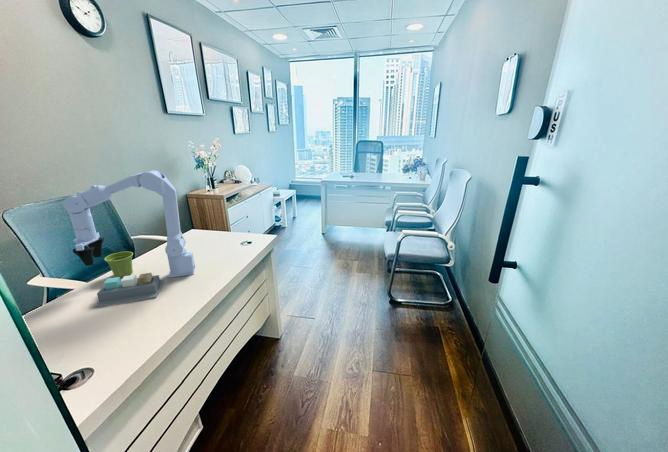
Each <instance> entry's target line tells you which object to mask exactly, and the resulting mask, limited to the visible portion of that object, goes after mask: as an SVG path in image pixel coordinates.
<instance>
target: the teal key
mask: <svg viewBox="0 0 668 452" xmlns="http://www.w3.org/2000/svg"><path fill="white" fill-rule="evenodd" d="M121 280H122V279H121V278H120V277H110V278H109V277H108V278H106V280H104V282H103V285H104V286H105V290H109V289H116V288H119V287H120V286H121Z"/></svg>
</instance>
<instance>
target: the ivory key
mask: <svg viewBox="0 0 668 452" xmlns="http://www.w3.org/2000/svg"><path fill="white" fill-rule="evenodd" d="M137 278H138V277H137V274H130V275H128V276H124V277H122V279H120V280H121V283H122V287H130V286H136V284H137Z"/></svg>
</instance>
